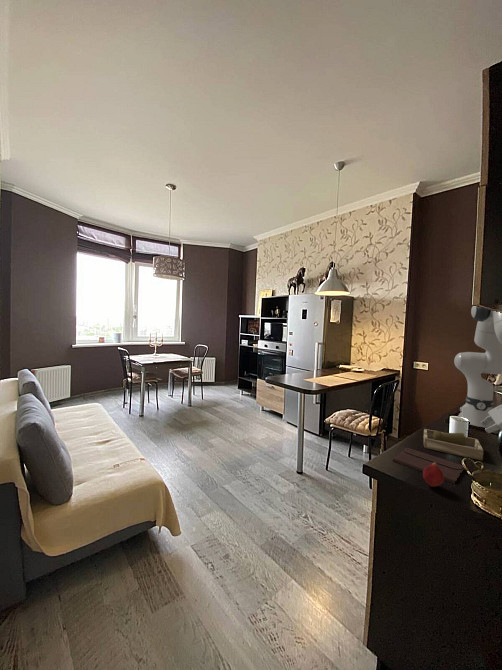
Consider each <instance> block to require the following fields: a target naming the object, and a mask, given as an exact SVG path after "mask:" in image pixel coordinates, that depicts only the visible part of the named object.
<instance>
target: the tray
mask: <svg viewBox="0 0 502 670" xmlns="http://www.w3.org/2000/svg"><path fill="white" fill-rule="evenodd" d="M435 431H436V430H432V429H429V428H423V448H425V449H429V450H433V451H438V452H440V453H441V452H443V453H446V454H450V455H456V456H460V457H463V458H468V457H469V459H474V460H478V461H483V460H484V449H483V447H482V445H481V443H480V441H479V439H478V438H474V437H469V436H465V446H462V445H457V444H452V443H447V442H443V441H438V440H434V439H433V433H434V432H435ZM441 432H442V431H441ZM442 433H445V431H443V432H442Z"/></svg>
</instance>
